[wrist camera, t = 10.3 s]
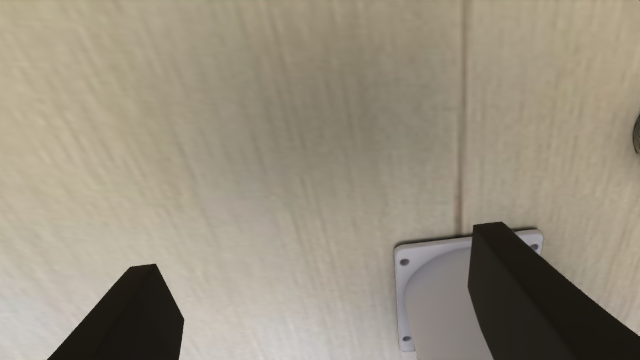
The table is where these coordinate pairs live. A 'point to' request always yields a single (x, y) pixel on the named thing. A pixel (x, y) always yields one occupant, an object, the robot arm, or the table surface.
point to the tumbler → (637, 136)
